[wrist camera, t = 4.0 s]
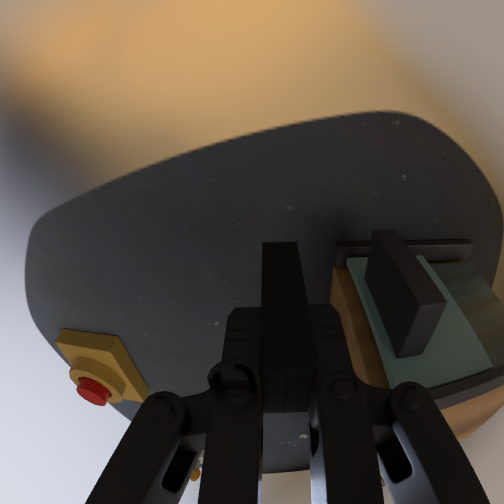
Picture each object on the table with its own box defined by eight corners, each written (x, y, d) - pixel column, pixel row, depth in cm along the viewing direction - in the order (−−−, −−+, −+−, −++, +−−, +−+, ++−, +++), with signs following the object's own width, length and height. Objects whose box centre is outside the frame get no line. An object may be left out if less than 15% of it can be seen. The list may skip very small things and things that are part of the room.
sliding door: (352, 212, 16) (427, 344, 7) (432, 213, 15) (525, 318, 7) (346, 264, 18) (392, 400, 9) (420, 260, 17) (488, 372, 9)
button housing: (62, 328, 25) (47, 353, 22) (118, 335, 25) (104, 366, 21) (97, 379, 30) (88, 402, 27) (149, 388, 30) (141, 415, 26)
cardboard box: (336, 241, 18) (394, 411, 8) (469, 239, 17) (555, 347, 7) (319, 353, 24) (334, 477, 14) (428, 339, 24) (467, 439, 13)
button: (76, 373, 24) (70, 385, 22) (101, 378, 23) (96, 392, 22) (90, 390, 25) (86, 402, 24) (115, 396, 25) (110, 408, 24)
